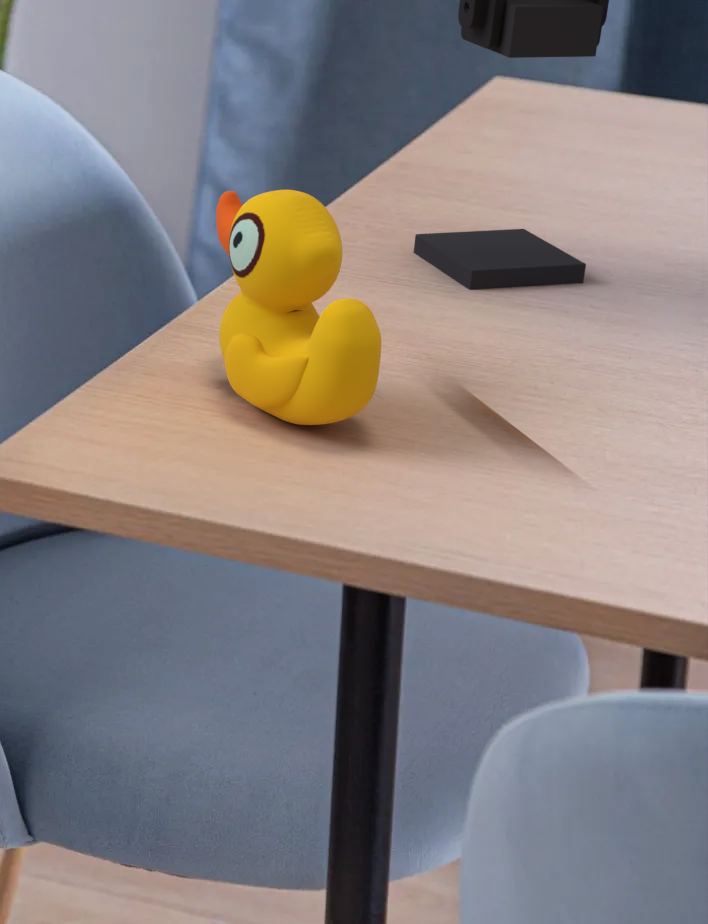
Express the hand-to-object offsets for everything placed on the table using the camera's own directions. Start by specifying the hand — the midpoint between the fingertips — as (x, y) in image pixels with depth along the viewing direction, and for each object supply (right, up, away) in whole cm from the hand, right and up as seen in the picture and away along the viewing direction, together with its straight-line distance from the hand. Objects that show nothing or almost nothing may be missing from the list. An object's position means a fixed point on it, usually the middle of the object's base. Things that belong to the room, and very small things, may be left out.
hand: (529, 39), depth 91 cm
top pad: (0, 0, 0) cm, 0 cm away
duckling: (-13, -20, -10) cm, 26 cm away
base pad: (0, -12, +8) cm, 15 cm away
